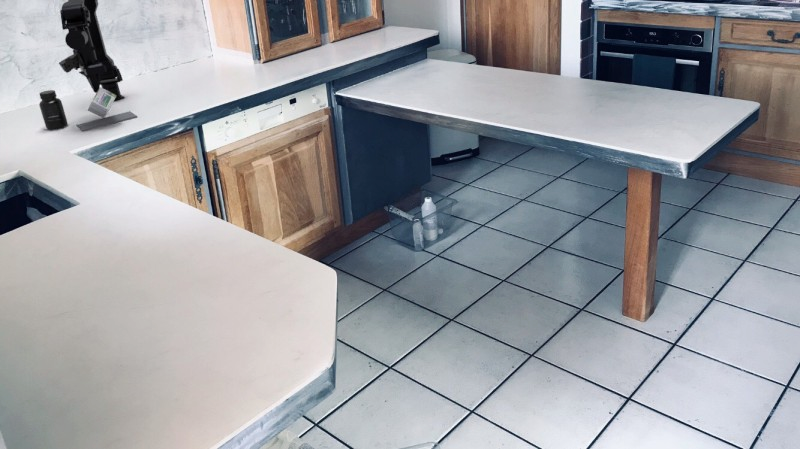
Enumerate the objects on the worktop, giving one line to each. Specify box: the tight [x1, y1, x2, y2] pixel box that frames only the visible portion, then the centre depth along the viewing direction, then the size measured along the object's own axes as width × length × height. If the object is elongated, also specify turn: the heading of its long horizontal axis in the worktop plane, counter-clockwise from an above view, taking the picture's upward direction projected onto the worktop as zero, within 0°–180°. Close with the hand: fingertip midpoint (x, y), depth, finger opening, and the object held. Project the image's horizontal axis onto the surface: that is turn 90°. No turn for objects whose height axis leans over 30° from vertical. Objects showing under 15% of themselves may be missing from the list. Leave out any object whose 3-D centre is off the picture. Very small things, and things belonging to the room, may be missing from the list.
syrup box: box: [87, 86, 116, 118], centre depth 241 cm, size 6×6×14 cm
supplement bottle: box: [39, 89, 69, 131], centre depth 242 cm, size 7×7×12 cm
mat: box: [76, 110, 138, 132], centre depth 244 cm, size 8×18×1 cm, turn 125°
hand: (96, 92), depth 242 cm, fingers closed
